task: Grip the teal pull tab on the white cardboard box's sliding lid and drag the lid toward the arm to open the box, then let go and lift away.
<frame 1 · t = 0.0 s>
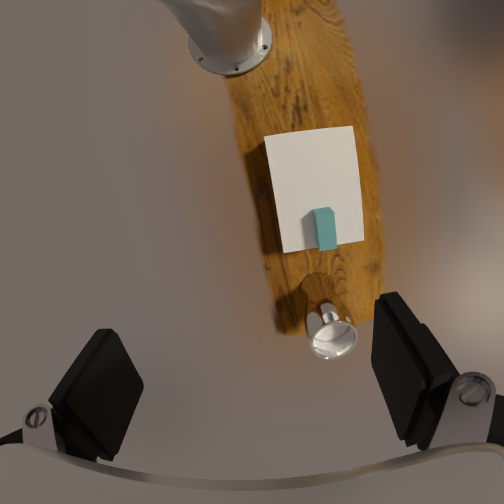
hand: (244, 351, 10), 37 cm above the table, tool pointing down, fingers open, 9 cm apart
box lid: (320, 191, 37), point 7 cm above the table, slide at 0.0 cm
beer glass: (317, 287, 50), on the table
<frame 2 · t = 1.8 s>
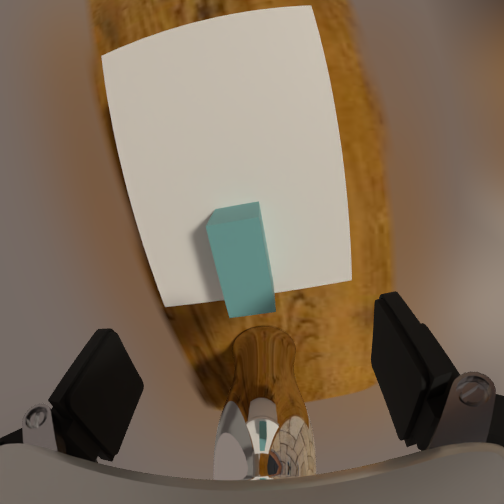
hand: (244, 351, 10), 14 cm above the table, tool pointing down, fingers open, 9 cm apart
box lid: (224, 162, 13), point 7 cm above the table, slide at 0.0 cm
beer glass: (263, 348, 27), on the table
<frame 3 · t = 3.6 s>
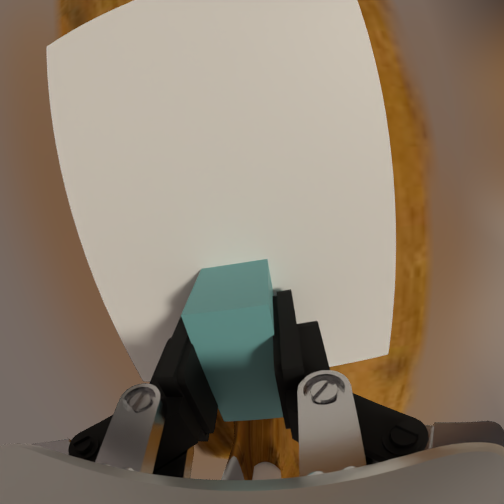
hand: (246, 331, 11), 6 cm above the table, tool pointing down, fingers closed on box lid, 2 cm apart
box lid: (212, 202, 8), point 7 cm above the table, slide at 0.0 cm, touching gripper
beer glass: (268, 404, 22), on the table
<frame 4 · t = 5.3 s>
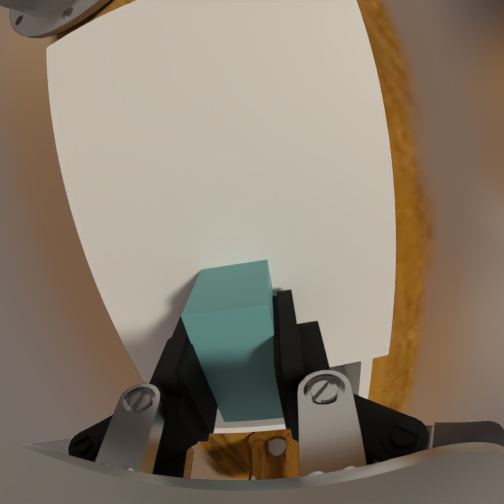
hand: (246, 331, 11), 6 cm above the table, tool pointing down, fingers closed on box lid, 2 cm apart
box lid: (212, 203, 8), point 7 cm above the table, slide at 6.1 cm, touching gripper
mailer box: (256, 280, 17), on the table
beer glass: (278, 440, 24), on the table
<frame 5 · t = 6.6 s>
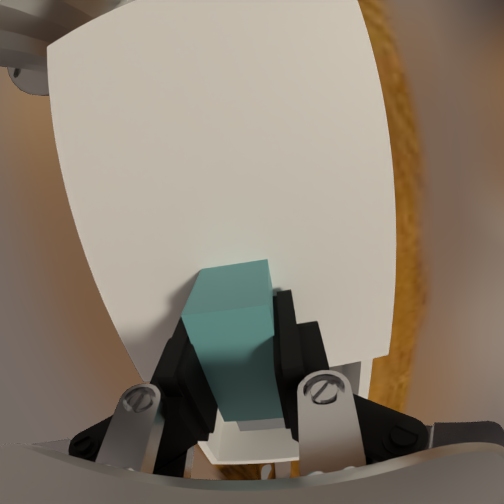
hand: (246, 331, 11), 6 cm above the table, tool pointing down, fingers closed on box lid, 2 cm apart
box lid: (212, 202, 8), point 7 cm above the table, slide at 11.0 cm, touching gripper
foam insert: (272, 364, 19), resting on mailer box
mailer box: (268, 343, 19), on the table
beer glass: (282, 459, 25), on the table
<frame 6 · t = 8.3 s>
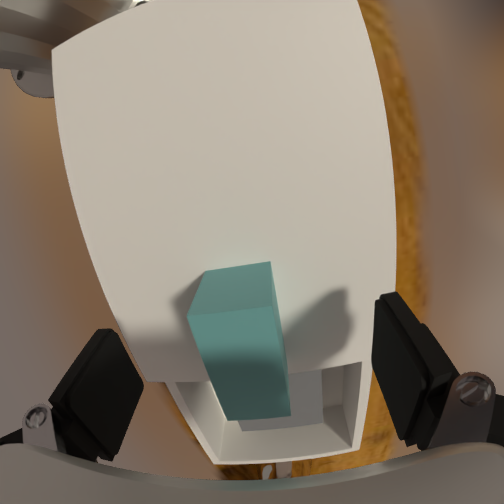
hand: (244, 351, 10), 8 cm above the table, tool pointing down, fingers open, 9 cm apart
box lid: (217, 206, 8), point 7 cm above the table, slide at 11.0 cm
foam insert: (274, 365, 20), resting on mailer box
mailer box: (270, 344, 19), on the table
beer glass: (283, 460, 26), on the table
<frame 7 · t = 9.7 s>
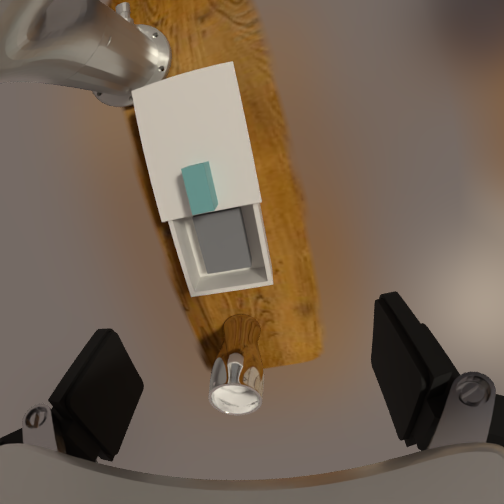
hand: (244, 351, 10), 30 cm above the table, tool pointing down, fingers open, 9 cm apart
box lid: (190, 142, 29), point 7 cm above the table, slide at 11.0 cm
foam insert: (224, 235, 40), resting on mailer box
mailer box: (221, 221, 39), on the table
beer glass: (242, 328, 46), on the table
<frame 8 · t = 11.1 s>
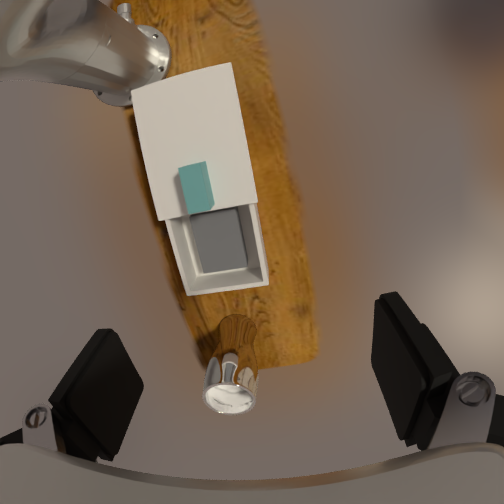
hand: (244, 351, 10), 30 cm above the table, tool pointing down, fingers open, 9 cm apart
box lid: (188, 142, 29), point 7 cm above the table, slide at 11.0 cm
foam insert: (221, 235, 40), resting on mailer box
mailer box: (218, 221, 39), on the table
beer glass: (238, 328, 46), on the table
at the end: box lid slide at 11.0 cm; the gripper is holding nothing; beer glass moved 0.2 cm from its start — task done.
